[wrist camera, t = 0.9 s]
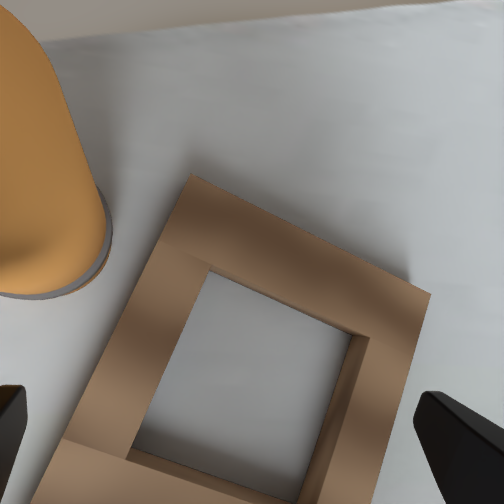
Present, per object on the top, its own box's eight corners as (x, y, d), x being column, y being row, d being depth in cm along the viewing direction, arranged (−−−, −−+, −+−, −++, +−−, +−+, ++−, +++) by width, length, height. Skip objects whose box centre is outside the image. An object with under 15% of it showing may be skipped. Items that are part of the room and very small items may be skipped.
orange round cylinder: (80, 320, 20) (-31, 339, 7) (-47, 269, 19) (-470, 176, 6) (135, 213, 22) (129, 62, 9) (21, 159, 21) (-192, -112, 7)
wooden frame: (292, 682, 21) (307, 719, 19) (-18, 604, 18) (-37, 640, 16) (409, 295, 26) (431, 294, 24) (186, 184, 23) (190, 173, 21)
